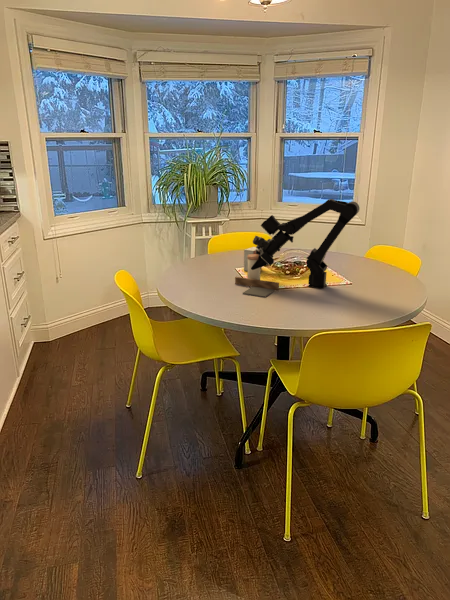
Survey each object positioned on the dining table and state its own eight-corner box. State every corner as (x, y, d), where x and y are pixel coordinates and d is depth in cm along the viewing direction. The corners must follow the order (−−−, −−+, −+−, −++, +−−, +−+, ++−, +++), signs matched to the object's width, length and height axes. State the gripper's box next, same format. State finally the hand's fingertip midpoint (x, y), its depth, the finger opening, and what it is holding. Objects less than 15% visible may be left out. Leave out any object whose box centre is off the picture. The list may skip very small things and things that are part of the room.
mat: (274, 290, 191) (274, 289, 190) (265, 297, 182) (265, 296, 182) (252, 287, 195) (252, 286, 195) (242, 293, 187) (242, 292, 186)
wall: (278, 289, 192) (279, 282, 191) (277, 290, 191) (278, 283, 190) (236, 283, 201) (236, 276, 200) (235, 283, 200) (235, 277, 199)
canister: (262, 281, 204) (263, 254, 200) (257, 284, 199) (257, 257, 195) (250, 279, 207) (250, 253, 203) (244, 282, 202) (245, 256, 198)
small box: (252, 272, 218) (253, 250, 215) (243, 270, 222) (243, 249, 218) (262, 269, 224) (262, 248, 221) (252, 267, 228) (253, 246, 224)
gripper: (261, 226, 204) (236, 250, 208) (266, 233, 187) (239, 260, 190) (278, 243, 207) (253, 266, 210) (285, 252, 190) (258, 278, 193)
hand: (250, 267), depth 201 cm, fingers closed on canister, 6 cm apart
